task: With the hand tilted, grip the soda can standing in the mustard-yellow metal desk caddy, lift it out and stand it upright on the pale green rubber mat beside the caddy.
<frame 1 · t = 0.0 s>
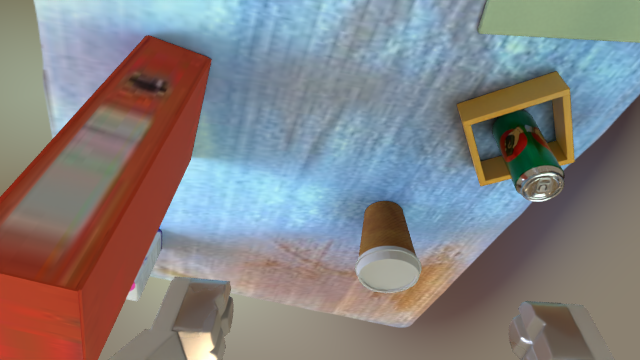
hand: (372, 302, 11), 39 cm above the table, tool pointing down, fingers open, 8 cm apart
soda can: (510, 123, 53), resting in desk caddy
supplement box: (146, 234, 74), on the table
disposable coffee cup: (383, 213, 66), on the table
file binder: (171, 102, 54), on the table
desk caddy: (511, 123, 53), on the table
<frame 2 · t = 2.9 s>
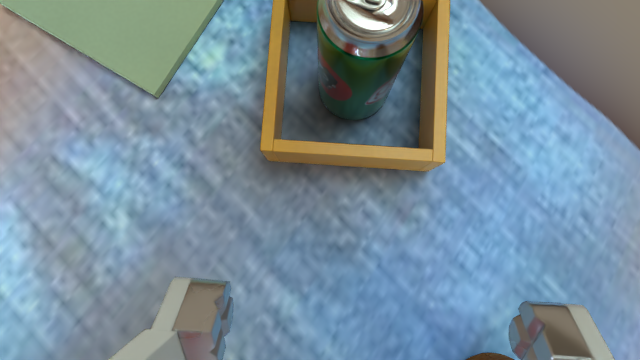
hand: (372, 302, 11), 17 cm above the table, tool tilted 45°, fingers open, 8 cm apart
soda can: (352, 89, 30), resting in desk caddy
desk caddy: (352, 89, 30), on the table
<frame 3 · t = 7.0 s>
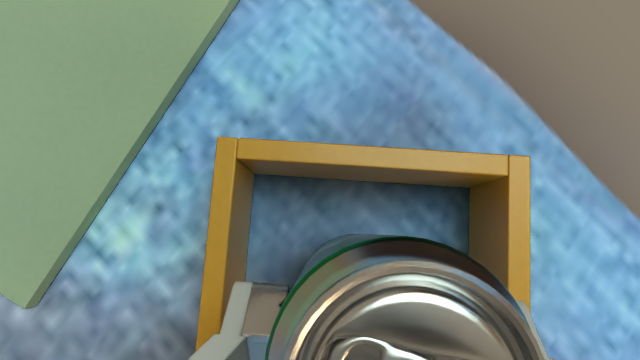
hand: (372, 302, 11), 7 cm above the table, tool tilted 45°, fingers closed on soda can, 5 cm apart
soda can: (355, 290, 18), resting in desk caddy, touching gripper
desk caddy: (355, 291, 18), on the table
green mat: (41, 50, 20), on the table
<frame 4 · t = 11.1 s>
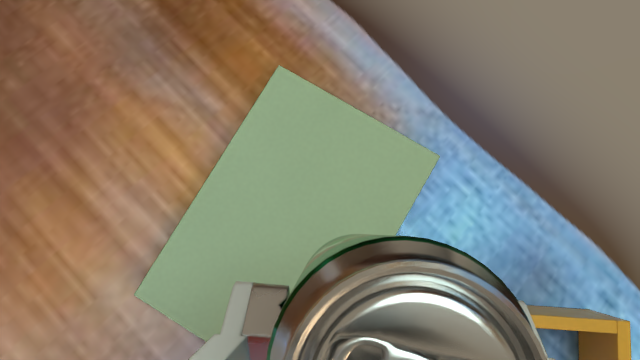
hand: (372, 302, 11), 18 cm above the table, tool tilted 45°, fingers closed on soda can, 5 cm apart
soda can: (356, 290, 18), point 11 cm above the table, touching gripper
green mat: (290, 224, 30), on the table
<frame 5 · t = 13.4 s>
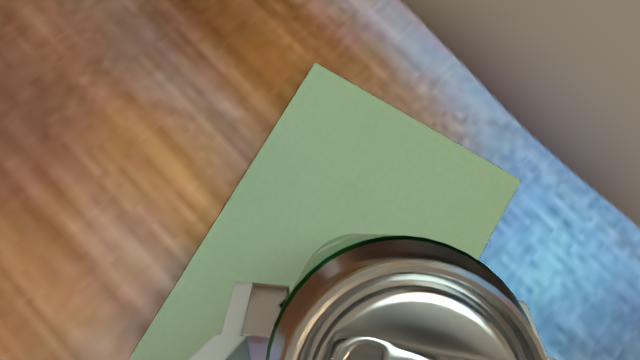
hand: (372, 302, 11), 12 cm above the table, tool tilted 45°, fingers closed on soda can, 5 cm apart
soda can: (355, 289, 18), point 5 cm above the table, touching gripper
green mat: (329, 266, 24), on the table
when the fingers open (7 cm above the table, at t = 15.2 s): soda can stays where it is, resting on green mat.
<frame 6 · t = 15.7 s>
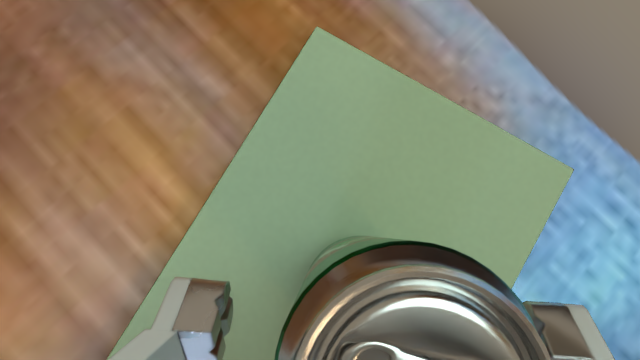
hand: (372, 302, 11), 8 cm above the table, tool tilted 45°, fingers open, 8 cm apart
soda can: (359, 291, 18), point 1 cm above the table, touching green mat
green mat: (335, 276, 19), on the table
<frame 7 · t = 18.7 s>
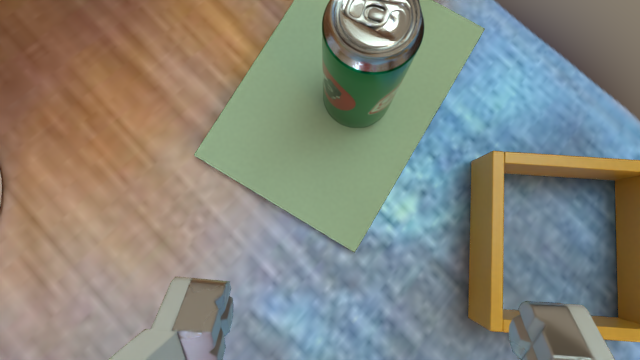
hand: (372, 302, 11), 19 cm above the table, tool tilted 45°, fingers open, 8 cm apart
soda can: (355, 98, 31), point 1 cm above the table, touching green mat
desk caddy: (548, 242, 30), on the table
green mat: (341, 94, 32), on the table
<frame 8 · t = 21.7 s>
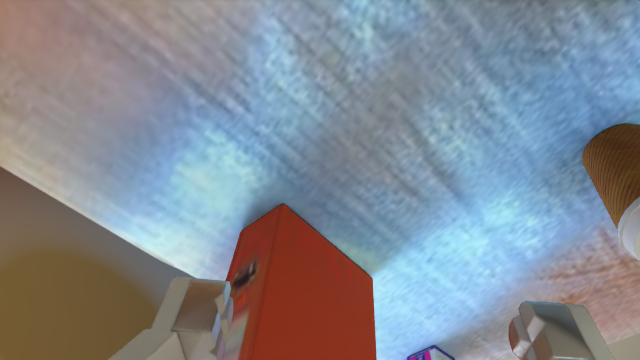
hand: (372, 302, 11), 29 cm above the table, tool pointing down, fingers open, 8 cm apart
supplement box: (429, 356, 67), on the table
disposable coffee cup: (614, 149, 41), on the table
file binder: (308, 254, 53), on the table
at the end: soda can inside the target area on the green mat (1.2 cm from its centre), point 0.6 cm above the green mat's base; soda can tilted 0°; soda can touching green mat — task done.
